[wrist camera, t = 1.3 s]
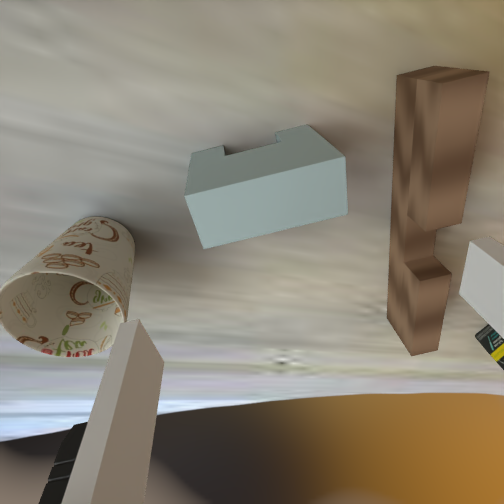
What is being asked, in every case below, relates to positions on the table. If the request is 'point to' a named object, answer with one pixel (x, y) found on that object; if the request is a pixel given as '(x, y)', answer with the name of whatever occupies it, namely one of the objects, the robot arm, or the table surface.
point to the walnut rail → (428, 192)
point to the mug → (72, 291)
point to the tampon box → (492, 344)
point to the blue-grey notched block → (266, 187)
